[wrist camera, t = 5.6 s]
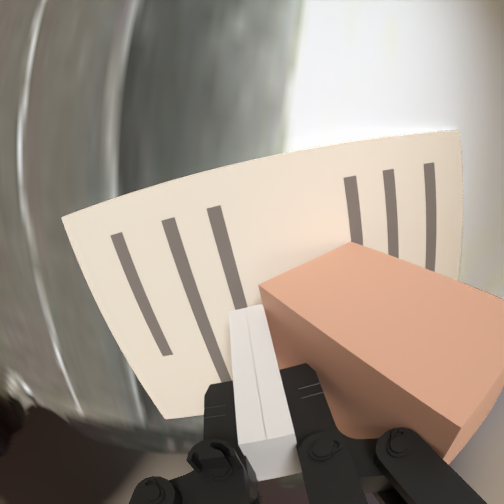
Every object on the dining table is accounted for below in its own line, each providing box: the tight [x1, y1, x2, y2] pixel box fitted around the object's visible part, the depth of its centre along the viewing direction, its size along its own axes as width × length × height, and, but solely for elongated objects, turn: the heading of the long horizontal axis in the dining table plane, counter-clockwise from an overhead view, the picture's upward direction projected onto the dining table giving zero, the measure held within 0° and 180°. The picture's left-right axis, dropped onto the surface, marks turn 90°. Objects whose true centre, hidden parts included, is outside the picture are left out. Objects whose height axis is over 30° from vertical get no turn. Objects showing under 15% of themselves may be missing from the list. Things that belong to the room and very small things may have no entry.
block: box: [258, 241, 504, 465], centre depth 10 cm, size 5×5×9 cm
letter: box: [62, 130, 463, 419], centre depth 15 cm, size 14×20×1 cm
